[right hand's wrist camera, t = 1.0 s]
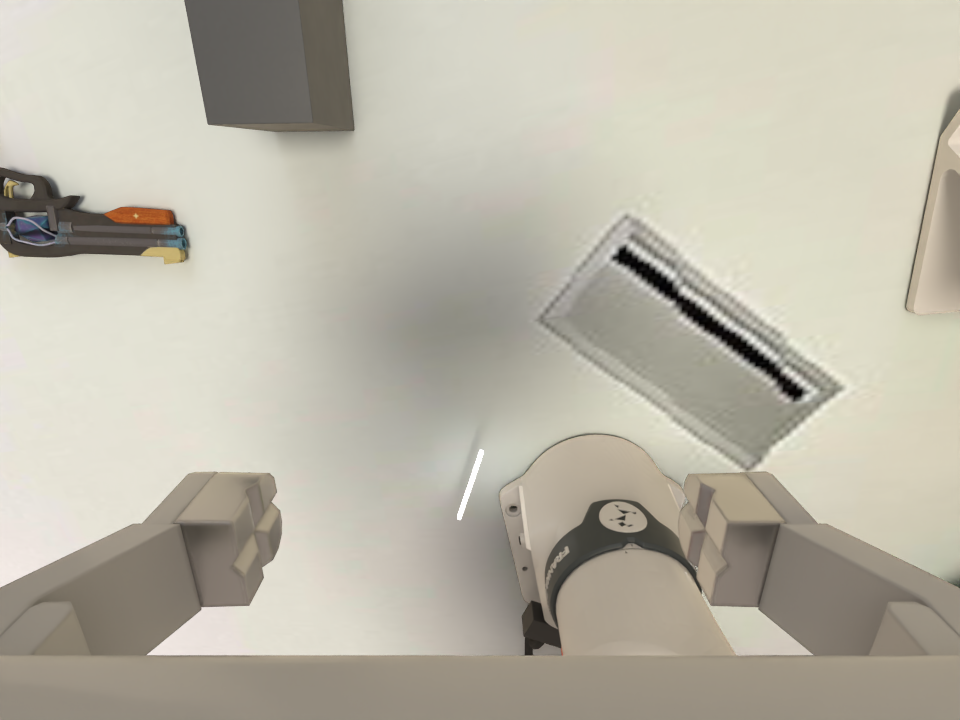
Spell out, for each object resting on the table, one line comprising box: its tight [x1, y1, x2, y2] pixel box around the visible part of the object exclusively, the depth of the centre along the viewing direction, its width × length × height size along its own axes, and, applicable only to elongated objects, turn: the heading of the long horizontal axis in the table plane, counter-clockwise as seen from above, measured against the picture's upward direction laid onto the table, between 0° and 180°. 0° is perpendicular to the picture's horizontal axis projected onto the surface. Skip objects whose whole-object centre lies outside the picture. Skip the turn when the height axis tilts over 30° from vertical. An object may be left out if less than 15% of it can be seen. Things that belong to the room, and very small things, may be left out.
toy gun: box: [0, 168, 187, 264], centre depth 42 cm, size 3×19×10 cm
